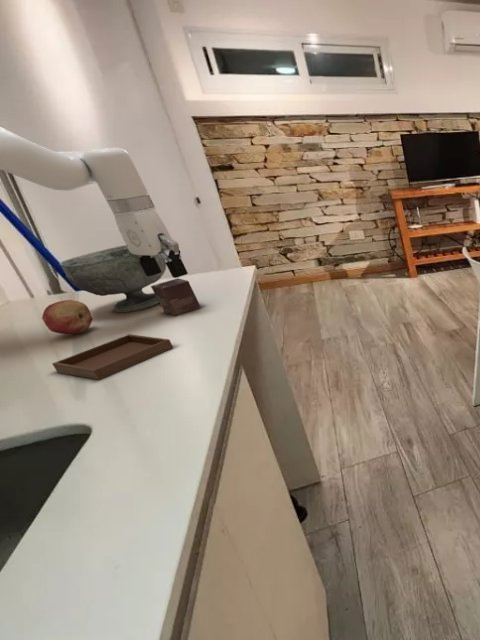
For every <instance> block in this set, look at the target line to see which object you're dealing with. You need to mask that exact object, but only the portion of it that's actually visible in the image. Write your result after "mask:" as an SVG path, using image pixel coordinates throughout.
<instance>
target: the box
mask: <svg viewBox="0 0 480 640" xmlns="http://www.w3.org/2000/svg"><path fill="white" fill-rule="evenodd" d="M150 288H151V290H152V292H153V293H155V295H156V297H157V299H158V301H159V303H158V304H159V305H160V307H161V308H162V311H163V312H164V313H165V314H168V315H171V316H178V315H181V314H184V313H187V312H190V311H193V310H196V309H199V308H201V304H200V302H199V300H198V298H197V296H196V294H195V292H194V290H193V288H192V286H191V284H190V281H189V280H187V279H182V278H180V277H177V278H174V279H171V280H167V281H164V282H163V281H162V282H159V283H156V284H152V285H150Z"/></svg>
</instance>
